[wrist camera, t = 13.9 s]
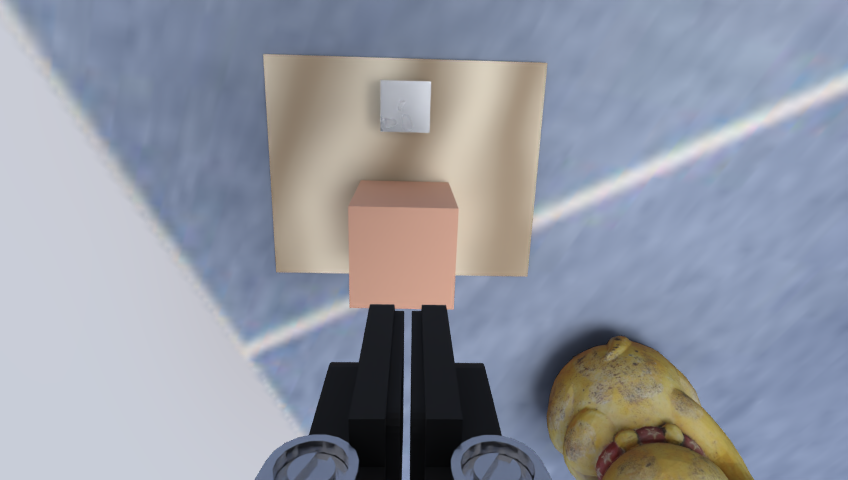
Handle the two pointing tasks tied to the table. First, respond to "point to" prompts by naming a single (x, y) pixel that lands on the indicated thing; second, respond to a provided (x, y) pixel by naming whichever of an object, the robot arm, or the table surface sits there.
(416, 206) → the salmon pink toy brick
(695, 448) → the decorative figurine
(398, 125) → the silver gray cube
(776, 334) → the table surface
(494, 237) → the board
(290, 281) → the table surface
